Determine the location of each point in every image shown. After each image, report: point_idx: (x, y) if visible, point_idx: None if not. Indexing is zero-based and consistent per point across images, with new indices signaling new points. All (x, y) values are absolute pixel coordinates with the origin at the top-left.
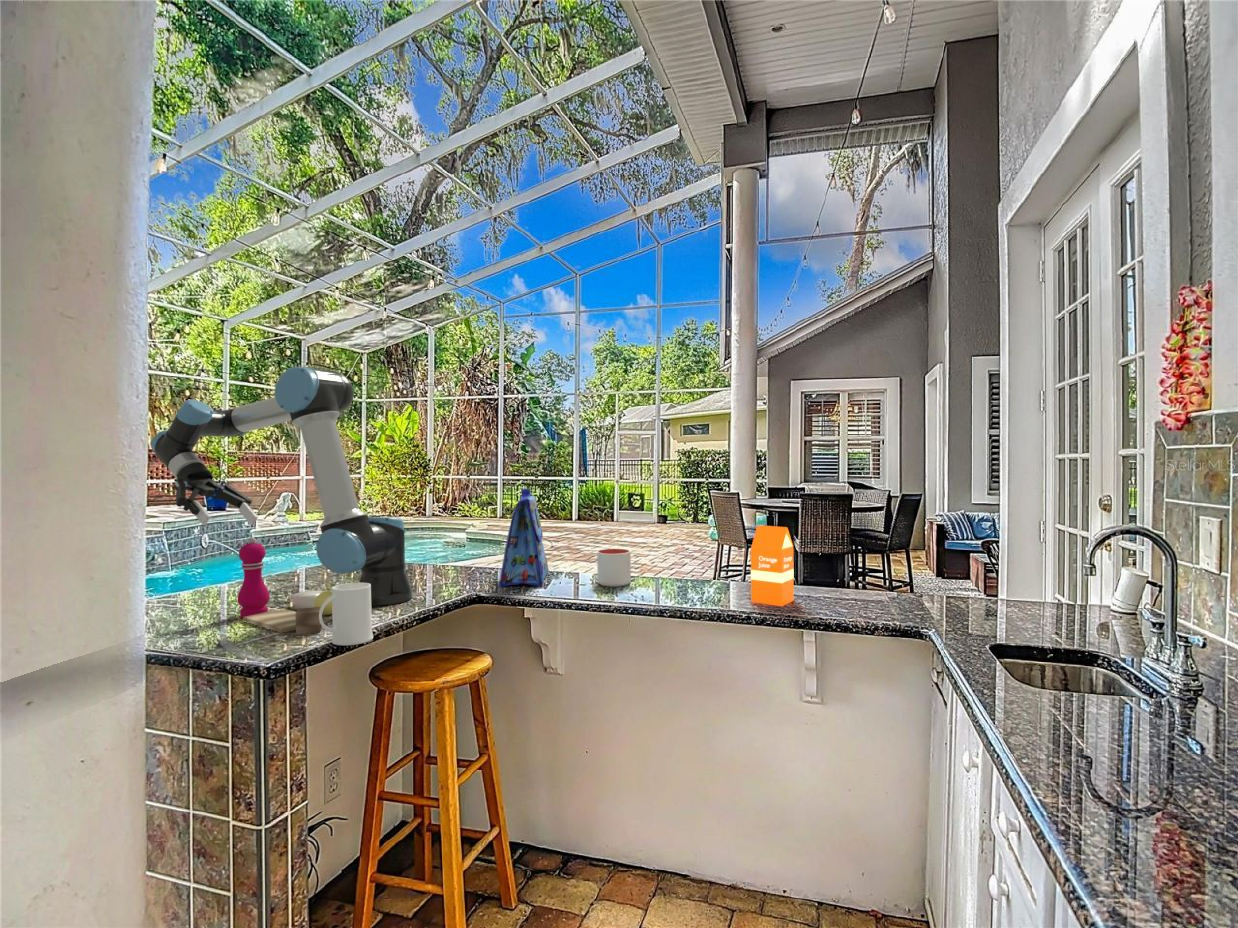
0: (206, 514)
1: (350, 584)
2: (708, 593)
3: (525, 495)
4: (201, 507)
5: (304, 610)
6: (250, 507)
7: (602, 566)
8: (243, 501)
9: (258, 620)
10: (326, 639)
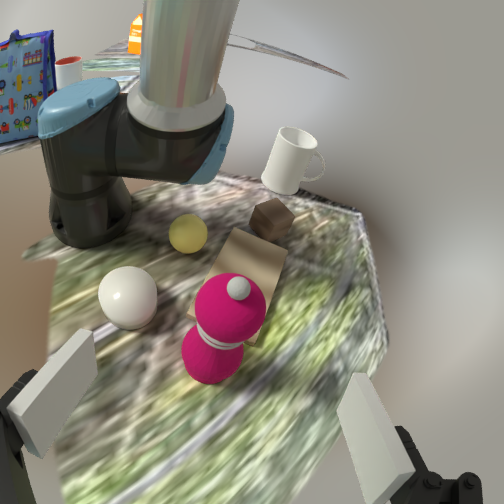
0: (370, 382)
1: (285, 141)
2: (115, 61)
3: (18, 37)
4: (386, 424)
5: (278, 214)
6: (10, 389)
7: (76, 72)
8: (2, 422)
9: (266, 303)
10: (287, 201)
